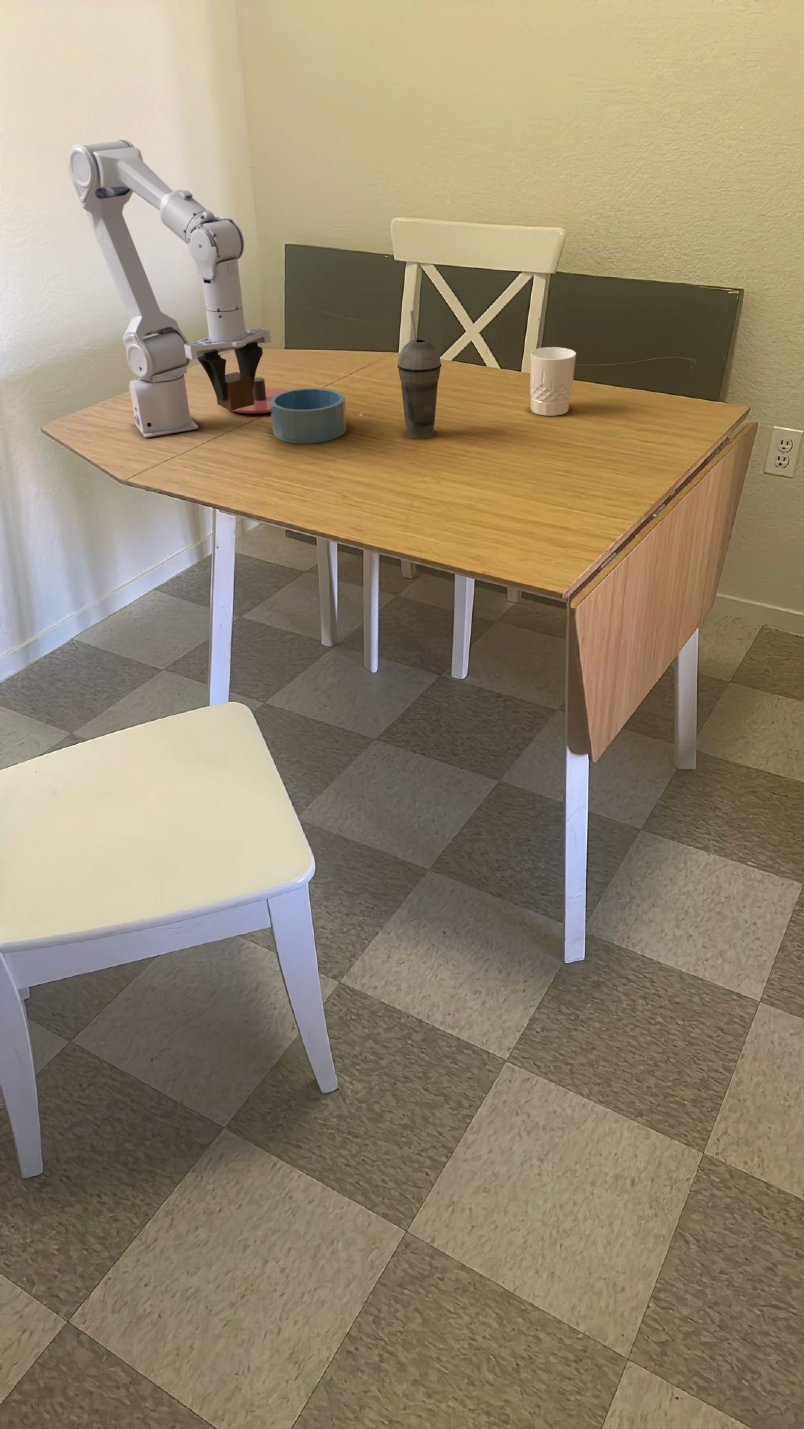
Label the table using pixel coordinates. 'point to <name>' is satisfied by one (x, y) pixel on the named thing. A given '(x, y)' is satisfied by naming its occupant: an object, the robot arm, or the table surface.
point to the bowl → (308, 415)
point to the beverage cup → (419, 385)
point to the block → (237, 391)
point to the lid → (260, 398)
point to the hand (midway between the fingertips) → (234, 395)
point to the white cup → (551, 380)
